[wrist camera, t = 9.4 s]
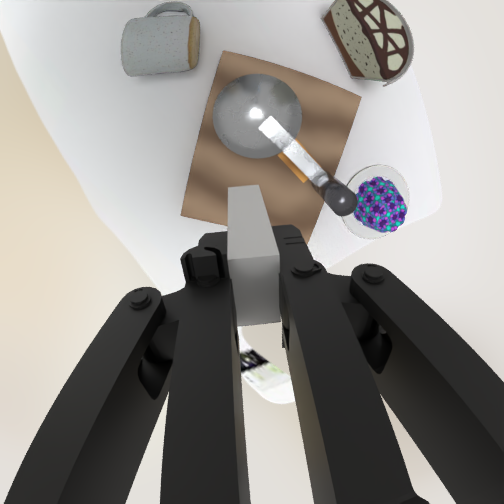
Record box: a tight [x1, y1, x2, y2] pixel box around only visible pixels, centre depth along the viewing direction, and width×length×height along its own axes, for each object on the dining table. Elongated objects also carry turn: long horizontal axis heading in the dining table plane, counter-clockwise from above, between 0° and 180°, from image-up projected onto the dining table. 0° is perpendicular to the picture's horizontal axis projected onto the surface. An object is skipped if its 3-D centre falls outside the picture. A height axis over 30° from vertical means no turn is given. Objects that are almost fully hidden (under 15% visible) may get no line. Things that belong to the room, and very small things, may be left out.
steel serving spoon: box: [213, 74, 358, 216], centre depth 29 cm, size 18×10×8 cm, turn 46°
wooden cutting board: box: [181, 51, 361, 244], centre depth 35 cm, size 22×18×2 cm
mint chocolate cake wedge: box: [321, 0, 414, 87], centre depth 24 cm, size 12×6×10 cm, turn 27°
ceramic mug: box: [121, 2, 200, 77], centre depth 24 cm, size 11×8×8 cm
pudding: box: [343, 165, 409, 239], centre depth 38 cm, size 12×12×5 cm
